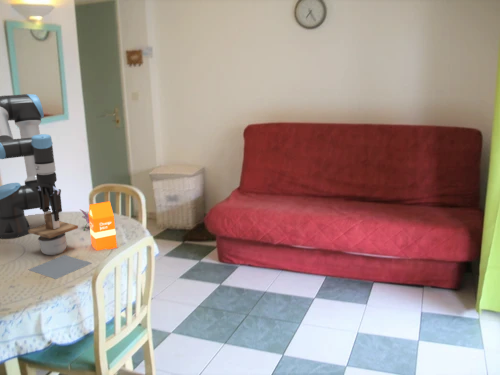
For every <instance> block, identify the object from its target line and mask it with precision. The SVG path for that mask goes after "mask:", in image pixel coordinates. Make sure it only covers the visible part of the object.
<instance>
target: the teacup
mask: <svg viewBox="0 0 500 375" xmlns="http://www.w3.org/2000/svg"><path fill="white" fill-rule="evenodd" d="M37 240H38V244H39V248H40V251H41V252H42V253H41V254H44V255H46V256H57V255H60V254H63V253H64V251H65V250H66V248H67V246H68V245H67V244H68V243H67V238H66V233H63V234H61V235H58V236H55V237H52V238H46V237H42V236H38V238H37Z"/></svg>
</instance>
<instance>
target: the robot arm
mask: <svg viewBox="0 0 500 375" xmlns="http://www.w3.org/2000/svg"><path fill="white" fill-rule="evenodd" d="M44 116H45V115H44V109H43V106H42V102H41V100H40V98H39V96H38V95H37V94H33V93H32V94H30V93H25V94H11V95H7V94H6V95H0V160H6V159H15V158H23V159H24V164H25V171H26V178H25V180H24V185H21V184H20V183H19V182H10V183H5V184H2V185H0V239H5V240H7V239H15V238H19V237H24V236H26V235H28V234H29V233H28V230H29V229H32V228H31V225H30V223H29V221H28V219H27V217H26V216H25V211H27V210H34V209H35V210H36V209H39V210H42V212H43V216H44V215H45V214H48V213H51V212H52V213H51V215H52V223H53V229H56V228H59V227H60V224H59V221H60V214H59V213H61V212H63V209H62V208H63V206H62V199H61V198H62V197H61V194H62V189H60V188H57V187H56V182H57V180H58V179H57V173H56V163H55V157H54V149H53V141H52V136H51V135H50V134H46V133H44V134H41V133H40V127H39V126H40V124H41V123H42V119H44ZM9 121H14V124H15V126H17V127H18V129H19V134H20V138H14V137H13V134H12V129H11V126H10V123H9Z"/></svg>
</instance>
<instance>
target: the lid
mask: <svg viewBox="0 0 500 375" xmlns="http://www.w3.org/2000/svg"><path fill="white" fill-rule="evenodd" d="M51 213H52V211H51ZM51 213H48V214H45V215H44V214H43V217H44V224H41V225H39V226H35V227H33V228H31V229H29V230H28V234H33V235H36V236H38V237H40V236H42V237H46V238H52V237H55V236H58V235H61V234H63V233H65V234H66V233H69V232H71V231H74V230H77V229H79V225H77V224H72V223H70V222H69V223H68V222H65V221H61V220H59V224H60V227H59V228H56V229H53V223H52V215H51Z"/></svg>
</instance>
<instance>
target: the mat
mask: <svg viewBox="0 0 500 375" xmlns="http://www.w3.org/2000/svg"><path fill="white" fill-rule="evenodd" d="M92 264H93V262H90V261H87V260H83V259H81V258H80V259H79V258H76V257H73V256H69V255H67V254H63V255H61V256H59V257H55V258H54V259H50V260H48V261H46V262H43V263H41V264H38V265H36V266H33V267H31V268H29V269H27V271H31V272H34V273H37V274H40V275H43V276H45V277H48V278H51V279H54V280H57V279H60V278H62V277H64V276H66V275H69V274H71V273H73V272H75V271H78V270H80V269H83V268H85V267H87V266H89V265H92Z"/></svg>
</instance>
